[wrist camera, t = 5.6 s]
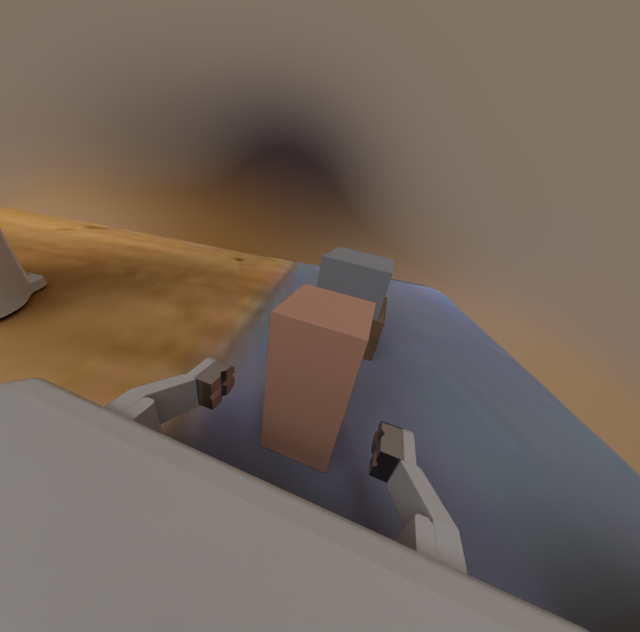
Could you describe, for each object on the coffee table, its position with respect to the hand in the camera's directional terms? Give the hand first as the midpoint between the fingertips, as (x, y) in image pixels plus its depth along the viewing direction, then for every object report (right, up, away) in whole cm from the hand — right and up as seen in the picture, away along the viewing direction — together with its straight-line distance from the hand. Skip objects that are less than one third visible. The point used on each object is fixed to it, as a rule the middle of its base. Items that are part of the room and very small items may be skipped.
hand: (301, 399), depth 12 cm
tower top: (+5, +6, +15) cm, 17 cm away
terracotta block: (0, -4, +5) cm, 6 cm away
